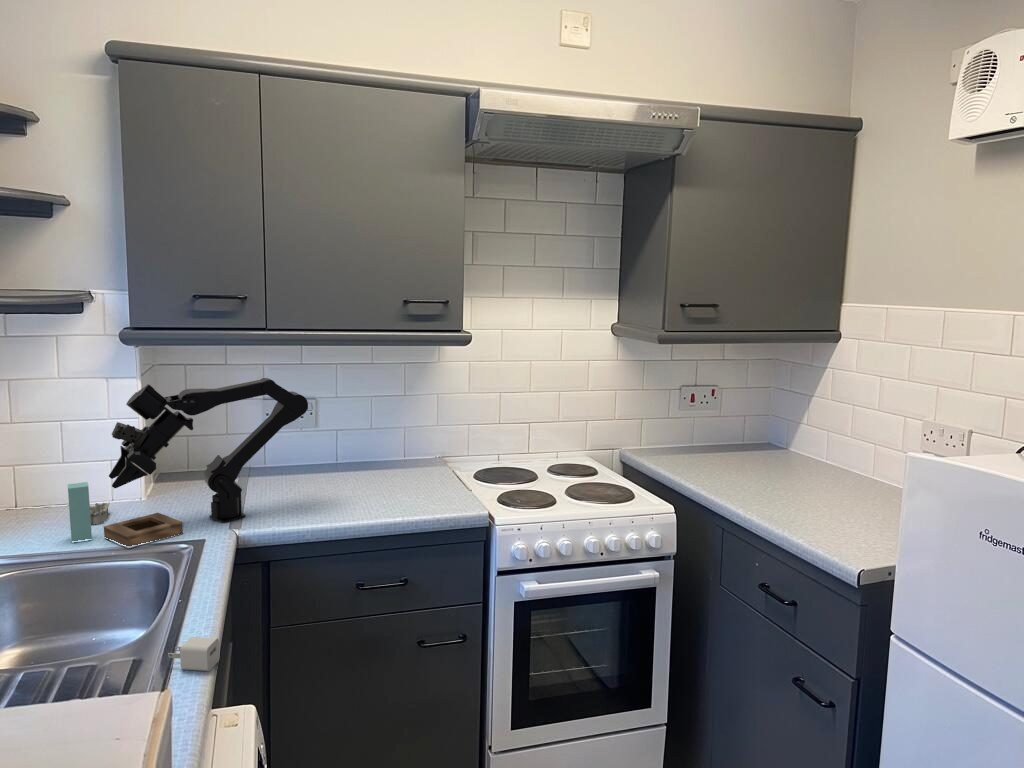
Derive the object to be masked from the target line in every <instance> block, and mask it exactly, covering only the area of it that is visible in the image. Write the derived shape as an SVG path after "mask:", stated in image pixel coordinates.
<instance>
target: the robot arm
mask: <svg viewBox="0 0 1024 768" xmlns="http://www.w3.org/2000/svg"><path fill="white" fill-rule="evenodd" d="M262 396H269V398H271V399H273V400H275V401H276V403H275V404H274V406H273V409H272V411H271V413H270V415H269V416H268V417H267V418H266V419H265V420H263V421H262V423H261V424H259V425H258V426H257V427H256V428H255V430H253V431H252V432H251V433H250V434H249V435H248V437H246V438H245V439H244V440H243V441H242V442H241V443H240V444H239V445H238V446H237V447H236V448H235V449H234V450H233V451H232V452H231V453H230V454H228V455H226V456H224V457H221V456H220V454H217V455H216V456H215V458H214V459H213V460H212V462H210V463H209V464H206V466H205V467H206V469H205V471H204V473H203V480H204V482H205V484H206V485H207V486H208V487H209V489H210V490H211V491H212V492H214V493H215V494H213V495H211V496H212V497H211V500H212V501H211V502H210V512H211V514H210V515H209V518H210V519H212V520H215V521H218V522H220V523H228V522H231V521H236V520H238V519H242V518H245V517H246V514H245V513H243V510H242V507H243V506H242V491H243V488H242V487H241V486H240V485H239V484H238V483H237V482H236V480H237V479H238V477H239V474H240V473H241V471H242V469H243V467H244V466H245V465H246V464H247V463H248V462H249V461H250V460H251V459H252V458H253V457H254V456H255V455H256V454H257V453H258V452H259V451H260V450H261V449H263V447H264V446H265V445H266V444H267V443H268V442H269V441H270V440H271V439H272V438H273V437H274V436H275V435H276V434H277V433H279V431H280V430H281V429H282V428H283V427H285V426H286V425H288V424H291V423H293V422H294V421H296V420H298V419H299V418H301V417H302V416H303V415H304V414H306V412H307V411H308V409H309V402H308V399H307V398H306V397H305V396H304V395H302V394H300V393H298V392H296V391H292V390H291V391H288V390H287V389H285V388H284V387H282V386H281V385H279V384H277V383H276V382H275V380H272V379H270V378H268V377H263V378H260V379H258V380H257V379H256V380H253V381H252V380H251V381H246V382H242V383H237V384H231V385H227V386H222V387H217V388H186V389H183V390H182V391H180V392H179V394H175V395H169V396H163V395H162V394H161V393H159V392H158V391H157V390H156V389H155V388H154V387H153V386H152V385H150V384H149V383H147V384H146V385H145V386H144V387H141V388H140V389H139V390H138V391H136V392H134V394H132V395H131V397H130V398H129V399H128V401H126V406H128V407H129V409H131V410H132V411H134V412H135V413H136V414H138V415H139V417H141V418H143V419H144V420H145V421H147V420H149V419H151V420H154V421H153V422H152V423H151V424H150V425H149V426H148V425H147V426H144V427H143V428H142V429H140V428H137V427H135V425H133V426H132V425H130V424H129V423H128V424H127V423H126V424H125V423H122V422H118V421H117V422H116V424H115V425H114V428H113V430H112V432H111V436H112V438H113V439H114V440H115V439H116V440H122V442H121V445H120V447H119V448H120V456H119V458H118V460H117V461H116V463H115V465H113V468H112V470H111V471H110V473H109V474H108V477H109V478H110V479H111V480H113V479H115V478H116V479H115V480H114V481H113V482H112V484H111V487H112V488H113V489H117V488H120V487H122V486H125V485H126V484H127V485H128V484H129V483H131V482H133V481H136V480H138V479H141V478H143V477H147V476H148V475H150V476H151V475H152V474H153V473H154V472H155V470H157V463H156V461H155V460H156V459H157V457H156V455H158V454H159V452H161V450H163V448H167V447H168V446H169V444H170V442H171V440H172V439H173V438H174V437H175V436H176V435H177V434H178V433H179V432H180V431H181V430H182V429H183V428H184V427H186V428H187V429H188V430H190V431H193V430H194V418H193V417H186V416H185V415H184V414H186V415H188V416H197V415H199V414H203V413H206V412H207V411H209V410H212V409H213V408H215V407H218V406H220V405H225V404H230V403H234V402H238V401H244V400H247V399H253V398H257V397H262ZM166 406H168V407H169V408H170V409H172V410H175V411H174V412H173V411H172V410H170V409H169V408H168V407H166ZM180 411H182V412H183V413H184V414H182V412H180Z"/></svg>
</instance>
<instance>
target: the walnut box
mask: <svg viewBox="0 0 1024 768" xmlns="http://www.w3.org/2000/svg"><path fill="white" fill-rule="evenodd" d="M183 525H184V523H183V521H182V520H179V519H176V518H173V517H171V516H169V515H166V514H162V513H161V512H155V513H151V514H147V515H142V516H139V517H134V518H131V519H127V520H122V521H120V522H114V523H112V524H108V525H104V526H103V534H104V535H103V536H104V537H106V538H108V539H111V540H114V541H116V542H118V543H120V544H123V545H126V546H132V545H138V544H141V543H146V542H150V541H155V540H159V539H163V538H167V537H170V538H172V537H171V536H174V535H177V536H179V535H178V534H181V533H183V534H184V529H183V527H184V526H183ZM181 535H182V534H181ZM174 537H175V536H174ZM167 539H168V538H167ZM163 540H164V539H163Z"/></svg>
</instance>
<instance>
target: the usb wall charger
mask: <svg viewBox="0 0 1024 768" xmlns="http://www.w3.org/2000/svg"><path fill="white" fill-rule="evenodd" d="M177 648H178V649H177ZM177 652H179V653H177ZM220 654H221V652H220V639H219V638H216V637H202V636H201V637H200V636H199V637H198V636H191V637H189V638H188V639H187V640H186V641H185V642H184V643H183V644H182V645H181V646H175V647H174V652H167V658H170V659H171V658H172V659H180V669H181V670H186V671H198V672H199V671H200V672H202V671H203V672H210V671H211V669H213V667H215V665H216V664H217V663H218V662H219V661H220Z"/></svg>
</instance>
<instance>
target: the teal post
mask: <svg viewBox="0 0 1024 768" xmlns="http://www.w3.org/2000/svg"><path fill="white" fill-rule="evenodd" d="M89 489H90V488H89V483H88V481H84V482H76V483H68V484H67V494H68V510H69V512H68V513H69V522H70V523H69V524H70V540H71V542H72V541H78V540H85V539H93V536H92V524H91V518H90V507H91V504H90V492H89V491H90V490H89Z"/></svg>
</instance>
